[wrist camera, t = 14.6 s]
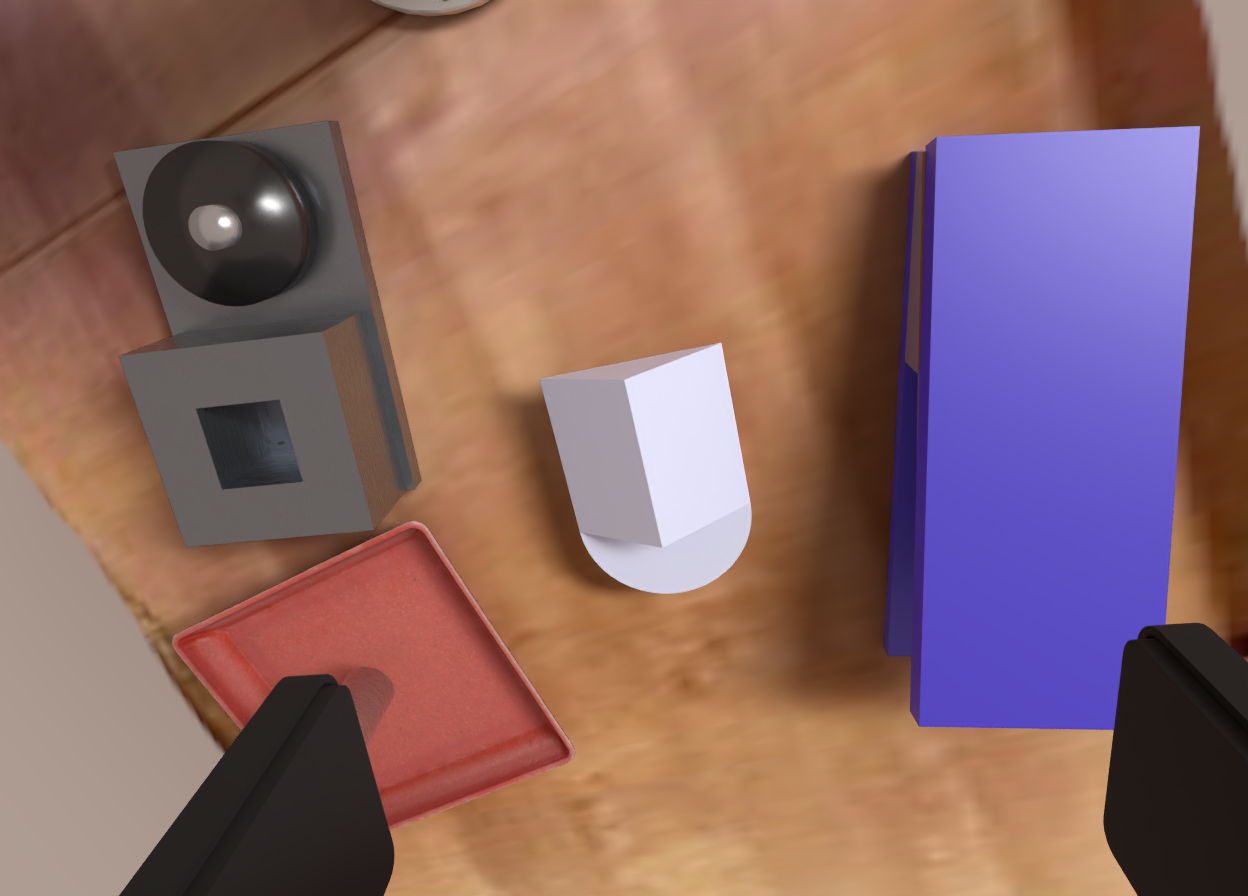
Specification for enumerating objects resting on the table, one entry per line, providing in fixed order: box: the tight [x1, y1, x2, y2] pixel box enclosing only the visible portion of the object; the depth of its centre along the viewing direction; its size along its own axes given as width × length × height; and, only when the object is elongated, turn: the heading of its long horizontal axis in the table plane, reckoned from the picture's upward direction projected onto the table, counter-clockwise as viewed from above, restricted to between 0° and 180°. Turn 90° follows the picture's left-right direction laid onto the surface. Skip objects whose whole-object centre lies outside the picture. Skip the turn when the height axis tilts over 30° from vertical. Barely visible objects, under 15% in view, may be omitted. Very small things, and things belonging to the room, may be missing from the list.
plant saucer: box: [172, 521, 575, 831], centre depth 49 cm, size 18×18×3 cm
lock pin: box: [341, 667, 395, 748], centre depth 41 cm, size 3×3×13 cm
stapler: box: [884, 126, 1200, 730], centre depth 38 cm, size 12×28×10 cm, turn 4°
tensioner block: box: [113, 121, 421, 547], centre depth 40 cm, size 19×11×6 cm, turn 7°
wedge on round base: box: [540, 343, 751, 594], centre depth 41 cm, size 9×7×13 cm
